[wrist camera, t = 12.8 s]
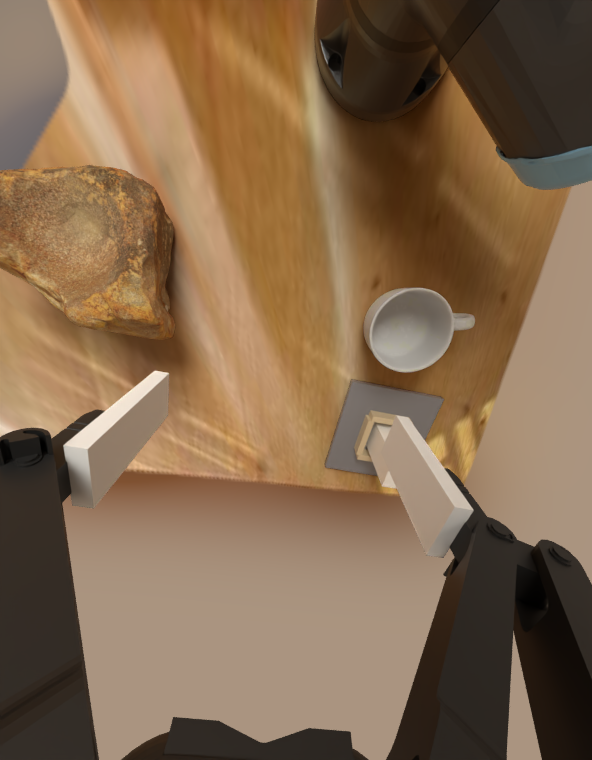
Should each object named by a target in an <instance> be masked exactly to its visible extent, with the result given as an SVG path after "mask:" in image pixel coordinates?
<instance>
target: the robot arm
mask: <svg viewBox="0 0 592 760" xmlns="http://www.w3.org/2000/svg"><path fill="white" fill-rule="evenodd" d="M315 47H316V55H317V60H318V64H319V68H320V72H321V75H322V77H323V80H324V82H325V84H326V86H327V88H328V90H329V92H330V93H331V95H332V96H333V98H334V99H335V100H336V101H337V103H338V104H339V105H340V106H341V107H342V108H343V109H345V110H346V111H347V112H349V113H350V114H352V115H354V116H355V117H358V118H360V119H363V120H367V121H374V122H380V121H388V120H392V119H395V118H398V117H400V116H402V115H404V114H406V113H407V112H409V111H410V110H412V109H413V108H414V107H416V106H417V105H418V104H419V103H420V102H421V101H422V100H423V99H424V98H425V97H426V96H427V95H428V94H429V93H430V91H431V90H432V89H433V88H434V86H435V85H436V84H437V83H438V81H439V80H440V79H441V77H442V76H443V74H444V73H445V71H446V69H447V68H448V67H449V69H450V71H451V72H452V74H453V76H454V77H455V79H456V80H457V82H458V84H459V85H460V87H461V89H462V90H463V92H464V93H465V95H466V97H467V98H468V100H469V102H470V103H471V105H472V106H473V108H474V110H475V111H476V113H477V115H478V116H479V118H480V119H481V121H482V123H483V124H484V126H485V128H486V129H487V131H488V132H489V134H490V136H491V137H492V139H493V141H494V142H495V144H496V145H497V147H496V151H497V154H498V155H499V157H500V158H501V159H502V160H504V161H505V162H507V163H508V164H509V165H510V167H511V168H512V170H513V171H514V172H515V174H516V175H517V177H518V178H519V179H520V181H521V182H522V183H524V184H525V185H527V186H530V187H533V188H537V189H541V190H551V189H560V188H566V187H570V186H574V185H578V184H581V183H585V182H588V181H591V180H592V0H317V9H316V20H315ZM168 396H169V373H166V372H160V371H154V372H153V373H151V374H150V375H149V376H148V377H146V378H145V379H144V380H143V381H141V382H140V383H139V384H138V385H137V386H135V387H134V388H133V389H132V390H130V391H129V392H128V393H127V394H126V395H124V396H123V397H122V398H121V399H119V400H118V401H117V402H116V403H115V404H113V405H112V406H111V407H110V408H108V409H107V410H106V411H102V410H94V411H92V412H89V413H87V414H84V415H83V416H81V417H80V418H79V419H77V420H76V421H75V422H74V423H72V424H71V425H69V426H68V427H67V429H64V430H63V431H61V432H60V433H59V434H57V435H56V436H55V437H53V438H52V439H51V435H50V433H49V432H48V431H47V430H44V429H41V428H25V429H20V430H16V431H12V432H10V433H7V434H5V435H3V436H1V437H0V760H99V757H98V750H97V743H96V737H95V731H94V725H93V717H92V710H91V703H90V696H89V689H88V682H87V675H86V668H85V661H84V654H83V647H82V640H81V633H80V626H79V619H78V612H77V604H76V597H75V591H74V583H73V576H72V569H71V562H70V555H69V548H68V541H67V534H66V527H65V521H64V513H63V506H62V502H63V501H64V500H65V499H66V498H67V497H68V496H69V495H70V494H71V500H72V505H73V506H80V507H87V508H95V507H96V505H97V504H98V503H99V501H100V500H101V499H102V498H103V496H104V495H105V494H106V492H107V491H108V490H109V489H110V488H111V486H112V485H113V484H114V483H115V481H116V480H117V479H118V478H119V476H120V475H121V474H122V473H123V471H124V470H125V469H126V468H127V466H128V465H129V464H130V463H131V461H132V460H133V459H134V458H135V456H136V455H137V454H138V453H139V451H140V450H141V449H142V448H143V446H144V445H145V444H146V443H147V441H148V440H149V439H150V438H151V436H152V435H153V434H154V433H155V431H156V430H157V429H158V428H159V426H160V425H161V424H162V422H163V421H164V420H165V419H166V417H167V416H168ZM381 454H382V456H383V458H384V461H385V463H386V465H387V468H388V470H389V472H390V474H391V477H392V479H393V481H394V483H395V486H396V488H397V490H398V493H399V495H400V497H401V499H402V501H403V504H404V506H405V508H406V511H407V513H408V515H409V517H410V520H411V522H412V524H413V526H414V529H415V531H416V534H417V536H418V538H419V540H420V543H421V545H422V547H423V549H424V552H425V554H426V555H427V556H434V557H441V558H444V556H445V555H446V553H447V552H448V550H449V548H450V549H451V551H452V552H453V554H454V556H455V558H454V559H453V560H452V562H451V564H450V565H449V567H448V568H447V570H446V571H445V573H444V576H447V577H446V580H445V584H444V586H443V590H442V593H441V596H440V599H439V602H438V606H437V609H436V612H435V615H434V619H433V622H432V625H431V628H430V631H429V634H428V637H427V641H426V644H425V647H424V650H423V653H422V656H421V659H420V663H419V666H418V669H417V672H416V675H415V678H414V682H413V685H412V688H411V691H410V694H409V698H408V701H407V704H406V707H405V710H404V713H403V717H402V720H401V723H400V726H399V729H398V733H397V736H396V739H395V741H394V744H393V746H392V749H391V751H390V753H389V755H388V757H387V759H386V760H507V755H506V754H507V736H508V718H509V698H510V681H511V661H512V643H513V631H514V635H515V640H516V644H517V649H518V653H519V657H520V662H521V667H522V671H523V676H524V680H525V684H526V689H527V693H528V698H529V703H530V707H531V712H532V716H533V721H534V725H535V730H536V734H537V739H538V743H539V748H540V753H541V757H542V760H592V584H591V582H590V580H589V578H588V577H587V575H586V573H585V571H584V569H583V567H582V565H581V564H580V563H579V561H578V560H577V559H576V558H575V557H574V556H573V555H572V554H571V553H570V552H569V551H568V550H566V549H565V548H563V547H562V546H560V545H558V544H556V543H554V542H552V541H549V540H541V541H539V542H538V544H537V545H536V546H535V547H533V546H531V545H528V544H526V543H524V542H521V541H519V540H517V539H516V537H515V536H514V534H513V533H512V532H511V531H510V530H509V529H508V528H507V527H506V526H505V525H503V524H501V523H500V522H499V521H497V520H495V519H493V518H489V517H487V516H486V515H485V513H484V512H483V511H482V509H481V508H480V506H479V505H478V504H477V502H476V501H475V500H474V498H473V497H472V496H471V494H469V492H468V490H467V489H466V488H465V487H464V485H463V483H462V482H461V481H460V479H459V478H458V477H457V476H456V475H455V474H454V473H453V472H451V471H450V470H449V469H447V468H444V467H443V466H442V465H441V463H440V462H439V460H438V459H437V457H436V456H435V455H434V453H433V452H432V450H431V449H430V448H429V446H428V445H427V443H426V442H425V440H424V439H423V438H422V436H421V435H420V433H419V432H418V431H417V429H416V428H415V426H414V425H413V423H412V422H411V421H410V419H409V418H408V417H403V416H398V415H396V416H395V419H394V421H393V424H392V426H391V429H390V431H389V434H388V436H387V438H386V441H385V443H384V446H383V448H382V451H381ZM122 760H368V759H367V758H366V757H364V756H363V755H362V754H360V753H359V752H358V751H356V750H355V749H352V742H351V732H348V731H336V730H324V729H311V728H308V729H305V730H302V731H299V732H297V733H294V734H291V735H288V736H285V737H282V738H279V739H276V740H273V741H270V742H267V743H260V742H258V741H256V740H254V739H252V738H250V737H248V736H247V735H245V734H243V733H241V732H239V731H237V730H235V729H233V728H231V727H229V726H227V725H225V724H224V723H222V722H220V721H213V720H202V719H189V718H177V717H173V720H172V724H171V728H170V732H167V733H164V734H161V735H159V736H156V737H154V738H152V739H150V740H148V741H146V742H145V743H143V744H141V745H140V746H138V747H137V748H135V749H134V750H132V751H131V752H130V753H129V754H128V755H126V756H125V757H124V758H123V759H122Z"/></svg>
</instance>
